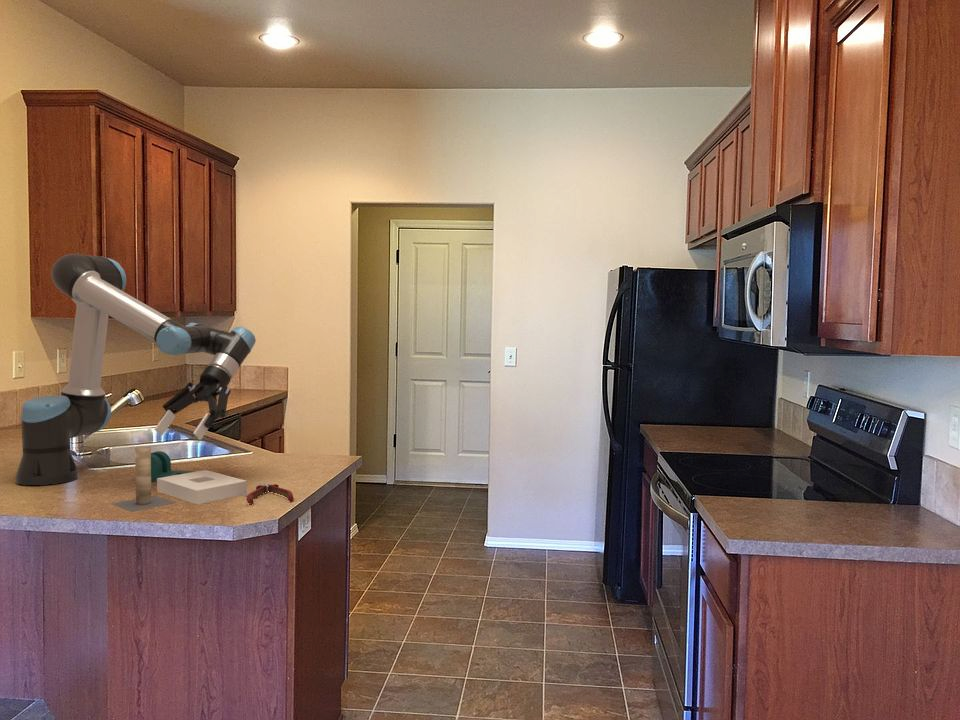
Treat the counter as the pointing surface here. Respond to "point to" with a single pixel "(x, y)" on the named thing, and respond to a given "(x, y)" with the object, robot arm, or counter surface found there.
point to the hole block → (201, 486)
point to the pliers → (271, 488)
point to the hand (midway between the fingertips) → (177, 434)
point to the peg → (143, 475)
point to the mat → (132, 505)
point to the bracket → (162, 466)
